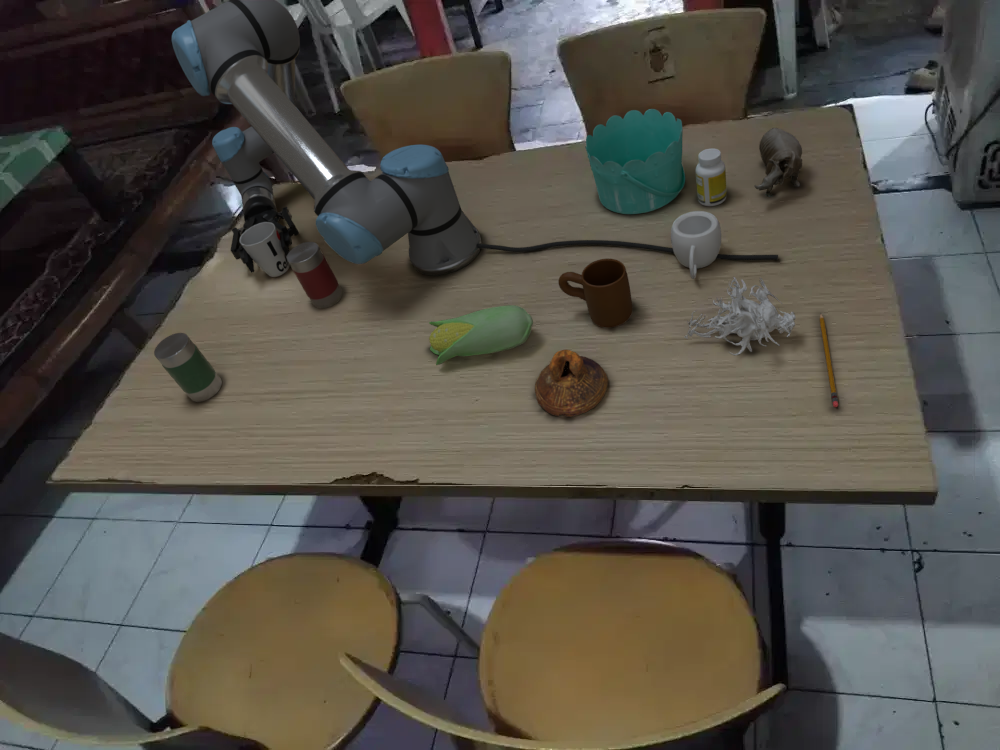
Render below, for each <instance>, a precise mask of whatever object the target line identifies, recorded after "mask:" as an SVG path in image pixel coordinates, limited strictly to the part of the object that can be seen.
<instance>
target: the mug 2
mask: <svg viewBox="0 0 1000 750" xmlns="http://www.w3.org/2000/svg"><path fill="white" fill-rule="evenodd" d="M670 243H671V248H673V251H674V253H673V254H674V256H675V257H676V259H677V260H678V262H679V263H680V264H681V265H682V266H684V267H686V268H688V269H689V274H690V278H691V279H693V280H694V279H696V277H697V271H698V269H702V268H705V267H708V266H710V265H711V264H712V263H714V261H716V260H717V259H716V257H717V255H718V254H720V253H719V252H720V250H721V245H722V229H721V224H720V221H719V219H718V218H717V216H715V215H714V213H711V212H709V211H705V210H692V211H689V212H685V213H683V214H680V215H679V216H678V217H676V219H675V220H674V221H673V223H672V225H671V227H670Z"/></svg>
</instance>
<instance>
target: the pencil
mask: <svg viewBox="0 0 1000 750" xmlns="http://www.w3.org/2000/svg"><path fill="white" fill-rule="evenodd" d="M819 324H820V325H819V326H820V330H821V338H822V343H823V349H824V356H825V363H826V369H827V376H828V381H829V387H830V397H831V404H832V406H833V407H834V408H837V407H839V399H838V393H837V389H836V384H835V377H834V372H833V366H832V360H831V354H830V353H831V352H830V347H829V342H828V335H827V330H826V323H825V318H824V316H823V314H822V312H820V315H819Z"/></svg>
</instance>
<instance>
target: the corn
mask: <svg viewBox="0 0 1000 750" xmlns="http://www.w3.org/2000/svg"><path fill="white" fill-rule="evenodd" d="M533 323H534V319H533V317H532V315H530V314H529V313H528V311H527V310H526V309H525V308H524V307H521V306H519V305H515V304H514V305H513V304H508V305H500V306H499V305H498V306H493V307H487V308H484V309H479V310H476V311H473V312H470V313H467V314H464V315H460V316H457V317H453V318H447V319H442V320H441V319H440V320H438V321H429V322H428V324H429V325H431V326H433V327H436V328H435V329H434V330H433V331H432V332H431V333H430V335H429V338H428V341H429V343H430V347H429V350H430V352H432V353H433V354H434V355H437V356H438V357H437V360H436V363H435V364H436V366H438V365H441V364H443V363H445V362H447V361H448V360H450V359H453V358H455V357H457V356H458V357H469V356H479V355H480V356H481V355H489V354H493V353H499V352H504V351H507V350H510V349H514V348H516V347H518V346H521V345H522V344H524V343H526V342H527V340H528V339H529V337H530V335H531V331H532V328H533V325H534V324H533Z"/></svg>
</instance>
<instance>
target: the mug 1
mask: <svg viewBox="0 0 1000 750" xmlns="http://www.w3.org/2000/svg"><path fill="white" fill-rule="evenodd" d="M569 282H571V283H575V284H578V285H580V286H582V287H580V286H573V285H571V284H570V283H569ZM558 287H559V288H560V290H561V291H562V292H563V293H564V294H565V295H567V296H569V297H573V298H578V299H581V300H583V301H585V304H586V306H587V311H588V314H589V315H588V316H589V318H590V320H591V322H592V323H594V325H596V326H598V327H601V328H606V329H607V328H608V329H609V328H616V327H619V326H622V325H623V324H625V323H626V322H627V321H629V319H630V318H631V317H632V315H633V310H634V305H633V298H632V293H631V287H630V280H629V276H628V272H627V269H626V266H625V264H624V263H623V262H622V261H620V260H618V259H615V258H600V259H596V260H594V261H592V262H590V263H589V264H588V265H586V266H585V267H584V268H583V270H582V272H581V273H577V272H574V271H567V272H563V273H562V274H561V275H560V276H559V278H558Z"/></svg>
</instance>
